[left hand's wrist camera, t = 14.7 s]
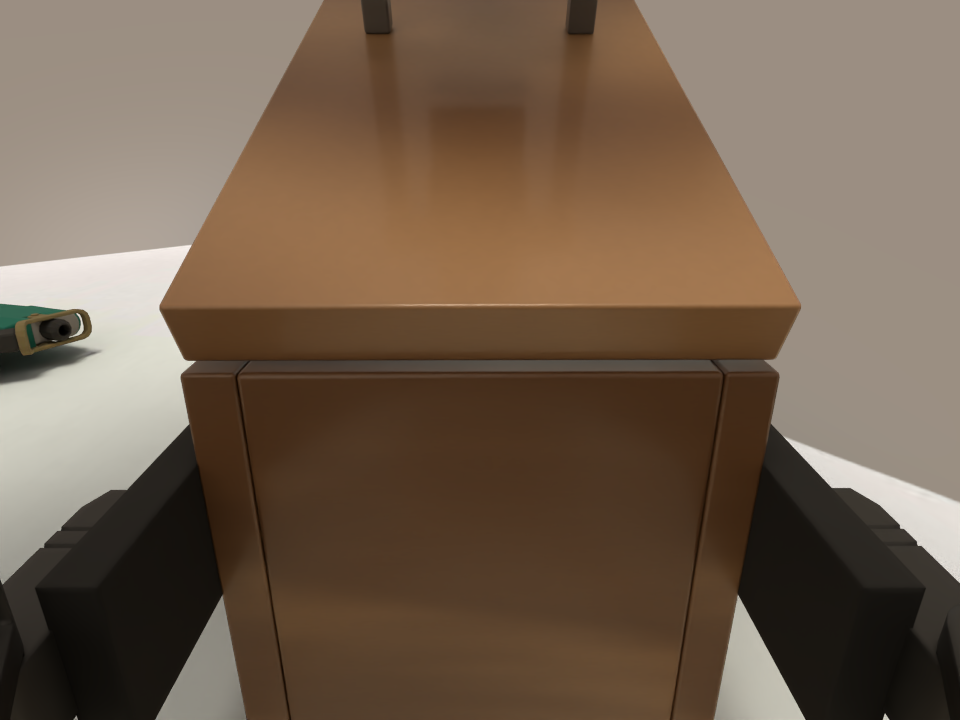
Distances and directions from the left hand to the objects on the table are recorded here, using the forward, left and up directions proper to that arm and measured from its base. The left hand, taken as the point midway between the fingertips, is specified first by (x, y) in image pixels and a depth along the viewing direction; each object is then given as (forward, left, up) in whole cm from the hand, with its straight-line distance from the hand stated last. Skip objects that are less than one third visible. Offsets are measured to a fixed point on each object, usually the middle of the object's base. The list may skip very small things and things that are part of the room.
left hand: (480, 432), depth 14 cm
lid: (+2, -2, +6) cm, 7 cm away
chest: (+2, -2, -7) cm, 8 cm away
